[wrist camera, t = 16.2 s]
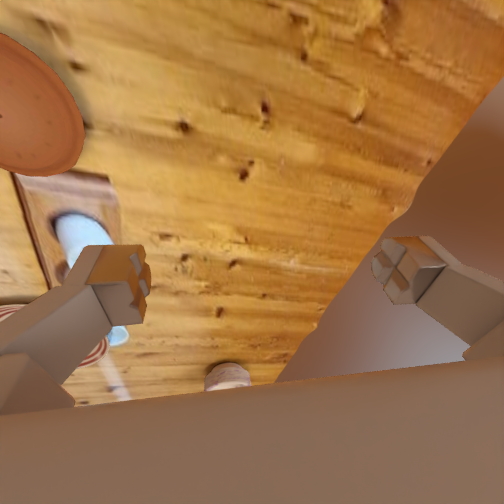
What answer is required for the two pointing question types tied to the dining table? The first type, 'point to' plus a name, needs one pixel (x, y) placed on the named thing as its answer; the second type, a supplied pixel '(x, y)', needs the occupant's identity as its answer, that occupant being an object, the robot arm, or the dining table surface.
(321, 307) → the dining table surface
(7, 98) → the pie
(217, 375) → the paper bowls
